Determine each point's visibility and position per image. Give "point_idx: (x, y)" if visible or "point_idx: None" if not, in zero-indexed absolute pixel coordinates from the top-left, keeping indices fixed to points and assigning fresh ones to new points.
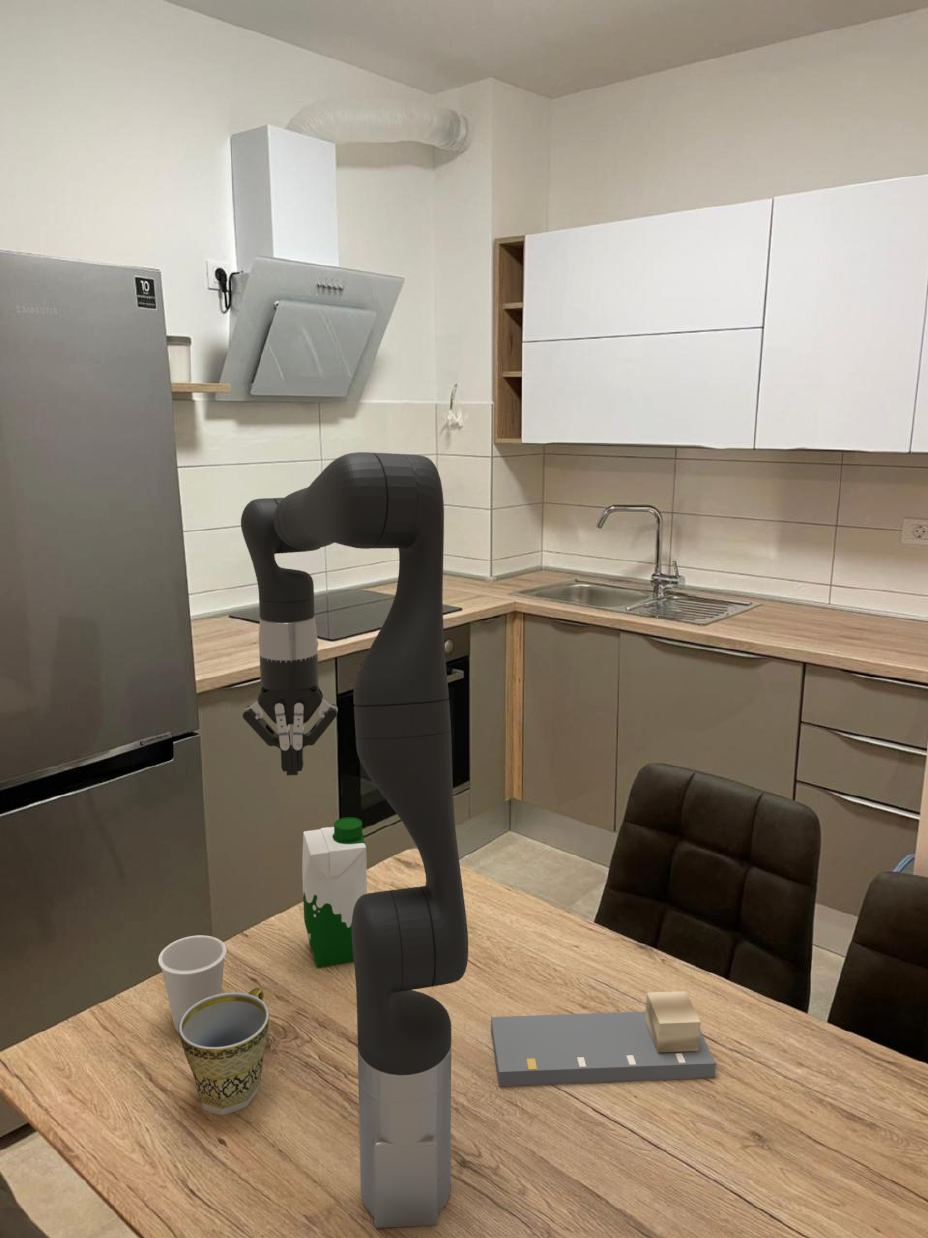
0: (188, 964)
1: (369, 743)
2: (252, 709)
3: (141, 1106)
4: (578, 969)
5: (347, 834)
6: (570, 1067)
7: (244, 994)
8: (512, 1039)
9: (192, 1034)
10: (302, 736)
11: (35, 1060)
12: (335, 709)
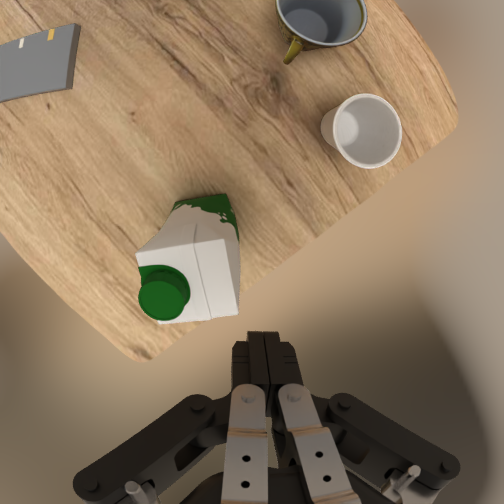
0: (364, 155)
1: None
2: (428, 494)
3: (370, 37)
4: (6, 175)
5: (161, 276)
6: (29, 36)
7: (306, 37)
8: (56, 61)
9: (349, 32)
10: (229, 424)
11: (447, 116)
12: (83, 500)
